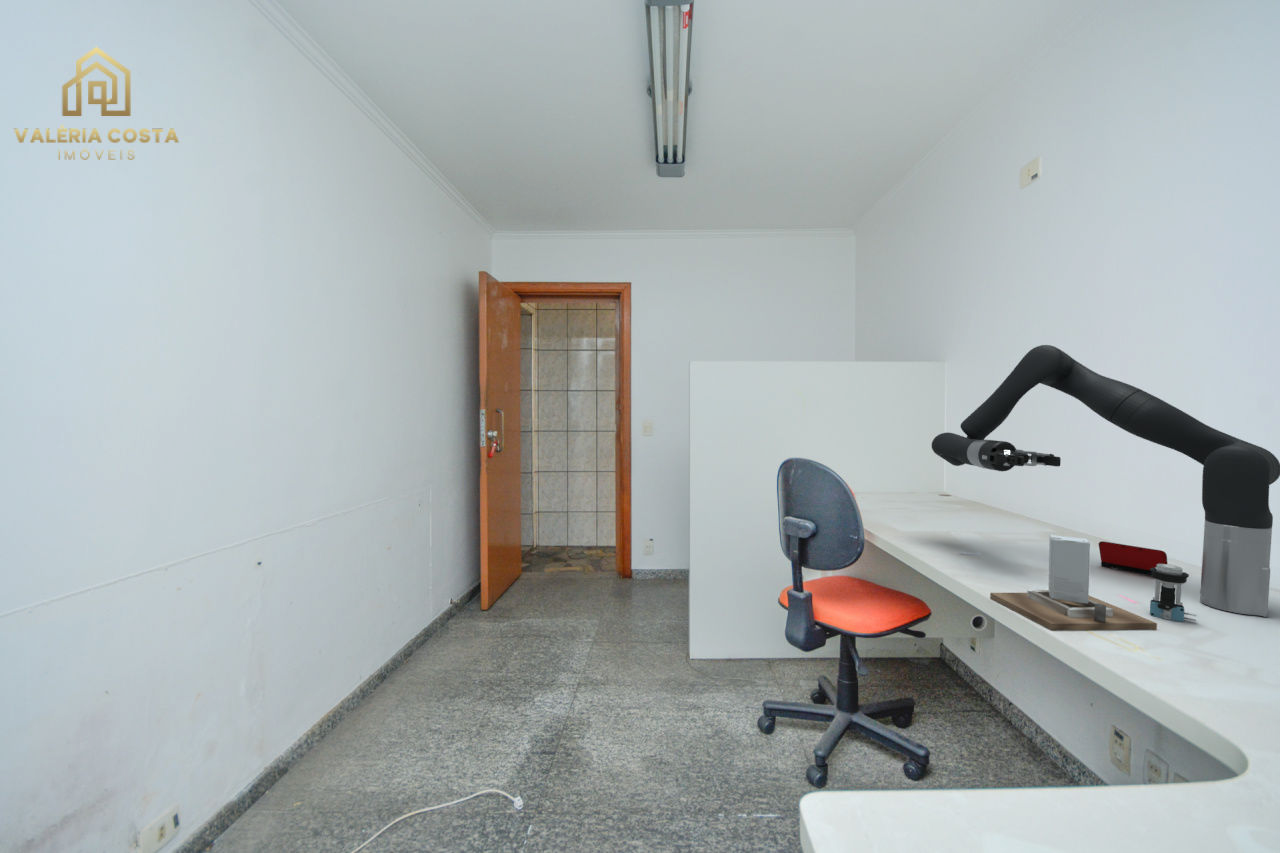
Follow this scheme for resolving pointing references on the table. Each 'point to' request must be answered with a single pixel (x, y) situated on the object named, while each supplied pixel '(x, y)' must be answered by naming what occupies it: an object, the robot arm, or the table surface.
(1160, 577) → the push button
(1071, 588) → the skincare box
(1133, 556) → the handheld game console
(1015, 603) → the keyed plate
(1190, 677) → the table surface
